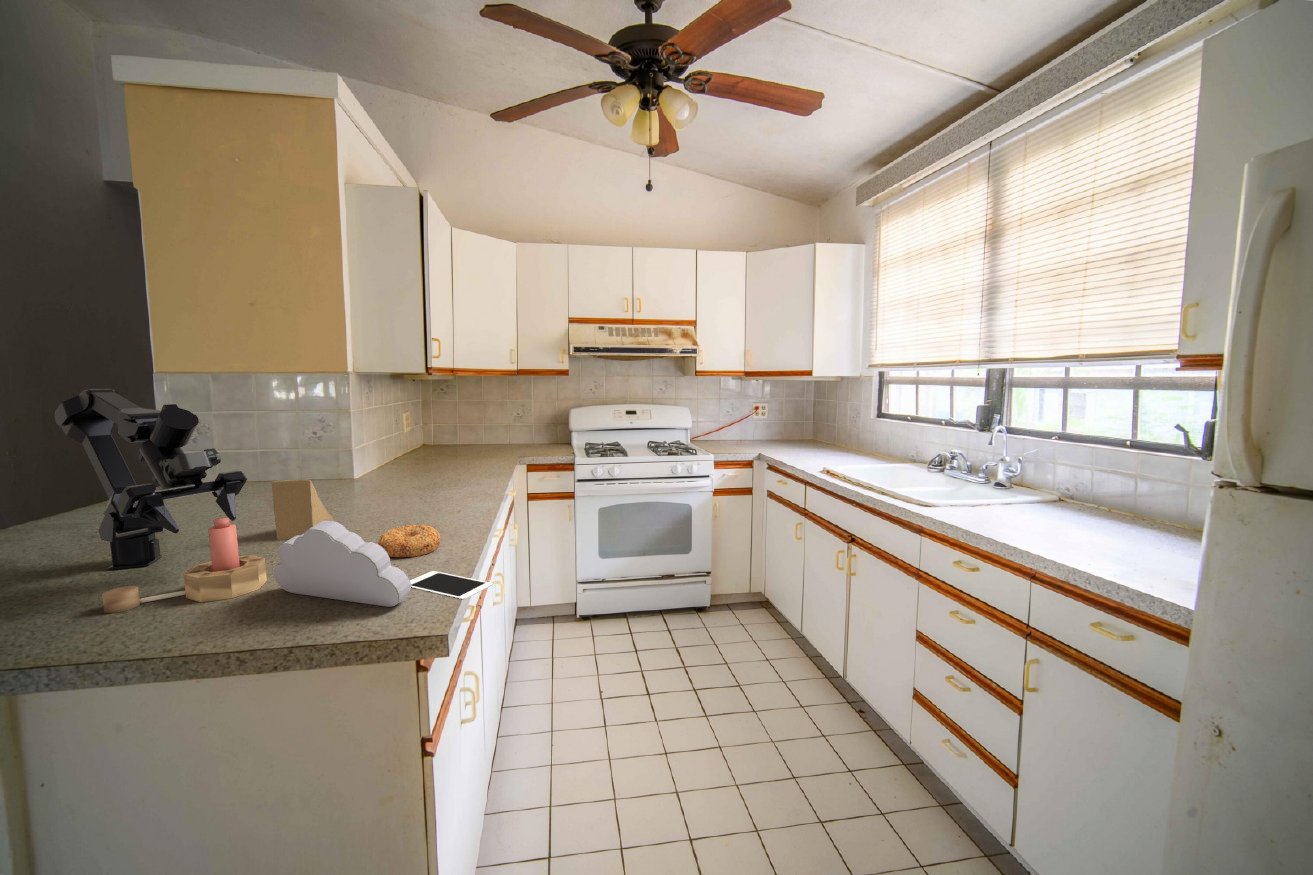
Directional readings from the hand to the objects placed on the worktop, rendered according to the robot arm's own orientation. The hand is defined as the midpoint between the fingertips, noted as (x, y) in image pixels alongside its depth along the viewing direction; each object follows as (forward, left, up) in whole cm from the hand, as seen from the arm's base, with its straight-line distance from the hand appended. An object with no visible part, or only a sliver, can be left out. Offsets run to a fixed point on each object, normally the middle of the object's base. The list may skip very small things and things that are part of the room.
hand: (206, 525), depth 100 cm
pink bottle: (+3, -4, -12) cm, 13 cm away
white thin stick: (-6, -5, -12) cm, 14 cm away
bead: (+3, -4, -12) cm, 13 cm away
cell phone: (+42, -17, -12) cm, 47 cm away
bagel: (+34, +8, -12) cm, 37 cm away
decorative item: (+24, -16, -12) cm, 32 cm away
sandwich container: (+9, +35, -12) cm, 39 cm away
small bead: (-11, -7, -12) cm, 17 cm away
